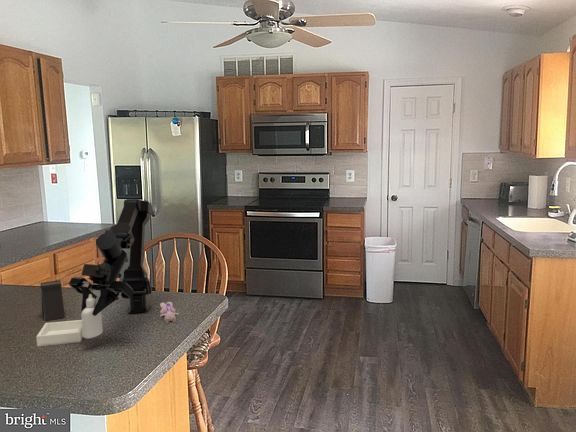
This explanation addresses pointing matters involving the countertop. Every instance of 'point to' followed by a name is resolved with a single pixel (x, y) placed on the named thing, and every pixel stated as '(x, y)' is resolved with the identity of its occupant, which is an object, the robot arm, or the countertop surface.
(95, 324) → the eye dropper bottle
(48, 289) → the phone stand
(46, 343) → the tray
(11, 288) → the countertop surface
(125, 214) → the robot arm
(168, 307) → the pink creature figurine
